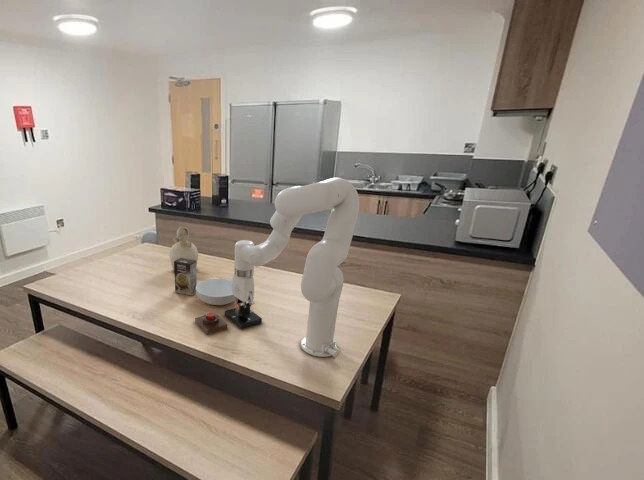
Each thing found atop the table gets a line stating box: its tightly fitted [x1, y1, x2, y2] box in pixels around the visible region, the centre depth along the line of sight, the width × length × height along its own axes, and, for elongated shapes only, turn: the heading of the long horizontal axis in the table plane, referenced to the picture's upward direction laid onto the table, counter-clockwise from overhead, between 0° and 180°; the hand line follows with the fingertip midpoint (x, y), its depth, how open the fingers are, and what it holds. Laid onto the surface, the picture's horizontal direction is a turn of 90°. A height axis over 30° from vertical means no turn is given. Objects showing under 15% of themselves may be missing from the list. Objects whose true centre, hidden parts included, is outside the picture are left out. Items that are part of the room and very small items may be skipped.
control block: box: [194, 313, 228, 335], centre depth 152 cm, size 11×9×4 cm
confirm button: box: [205, 311, 216, 320], centre depth 151 cm, size 4×4×2 cm
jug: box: [169, 226, 199, 271], centre depth 204 cm, size 15×16×25 cm
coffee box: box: [173, 258, 198, 296], centre depth 180 cm, size 9×6×16 cm
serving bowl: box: [195, 278, 236, 306], centre depth 173 cm, size 21×21×7 cm
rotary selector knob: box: [235, 301, 248, 317], centre depth 155 cm, size 6×2×5 cm, turn 118°
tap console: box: [224, 307, 263, 330], centre depth 157 cm, size 13×10×3 cm
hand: (242, 312), depth 156 cm, fingers open, 4 cm apart
